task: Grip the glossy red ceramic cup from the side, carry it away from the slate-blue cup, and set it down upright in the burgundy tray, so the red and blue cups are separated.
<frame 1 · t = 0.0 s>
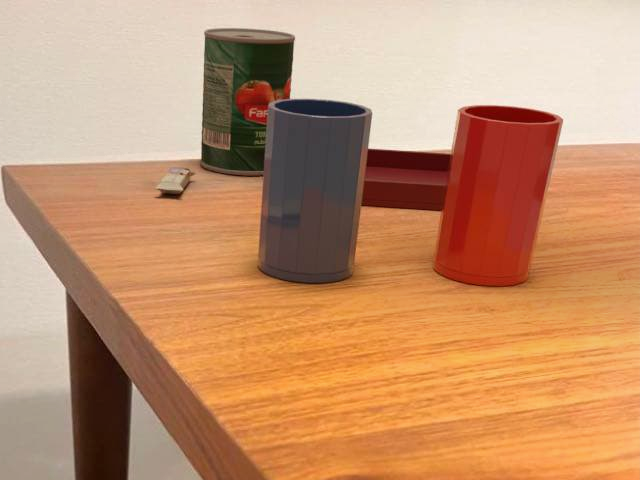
blue cup: (305, 267, 65), on the table
canned tomato: (242, 168, 90), on the table
red tray: (420, 190, 85), on the table
granola bar: (176, 189, 82), on the table
red cup: (479, 270, 66), on the table
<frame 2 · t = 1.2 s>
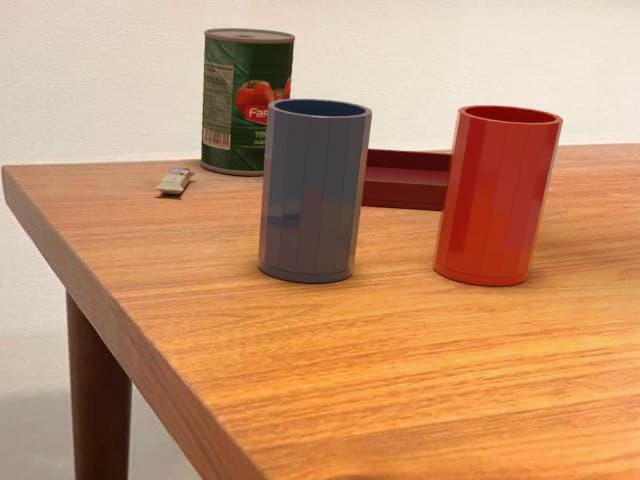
nothing on the table moved.
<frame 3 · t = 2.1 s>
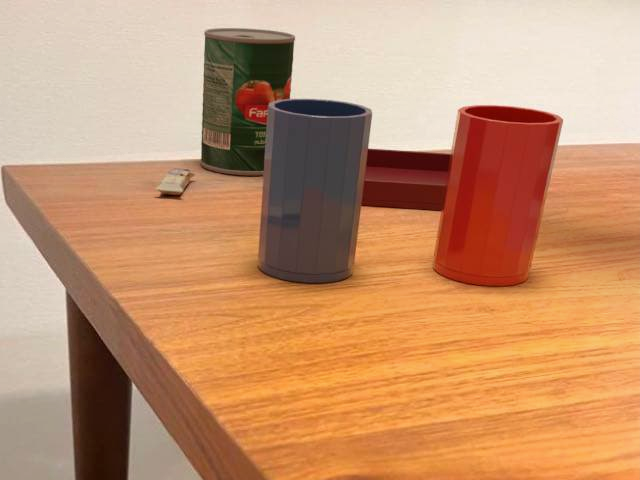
nothing on the table moved.
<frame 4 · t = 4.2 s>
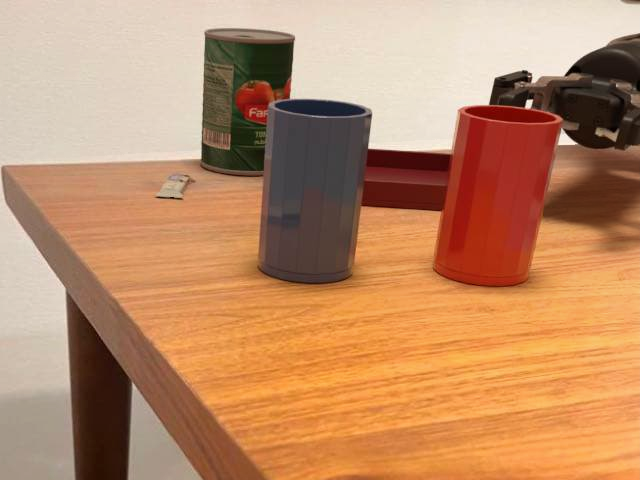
hand: (563, 122, 69), 8 cm above the table, tool horizontal, fingers open, 8 cm apart
nothing on the table moved.
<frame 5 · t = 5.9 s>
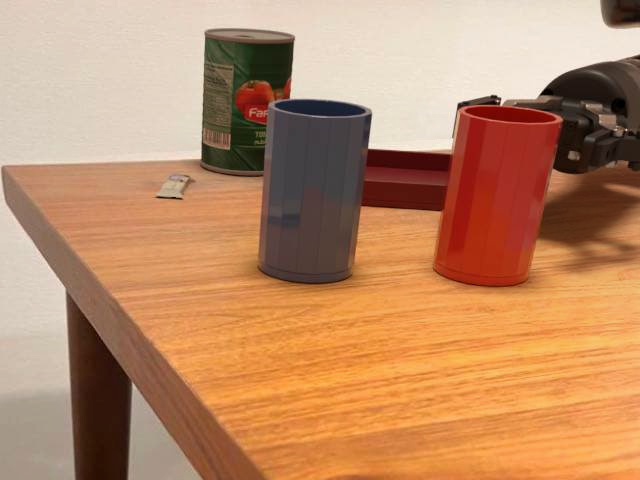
hand: (523, 145, 65), 8 cm above the table, tool horizontal, fingers open, 8 cm apart
nothing on the table moved.
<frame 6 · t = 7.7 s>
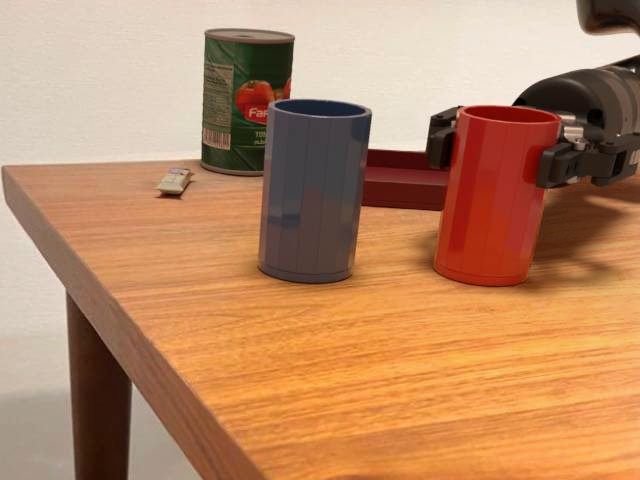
hand: (489, 161, 61), 8 cm above the table, tool horizontal, fingers closed on red cup, 6 cm apart
red cup: (480, 270, 66), on the table, touching gripper
everything else where it was.
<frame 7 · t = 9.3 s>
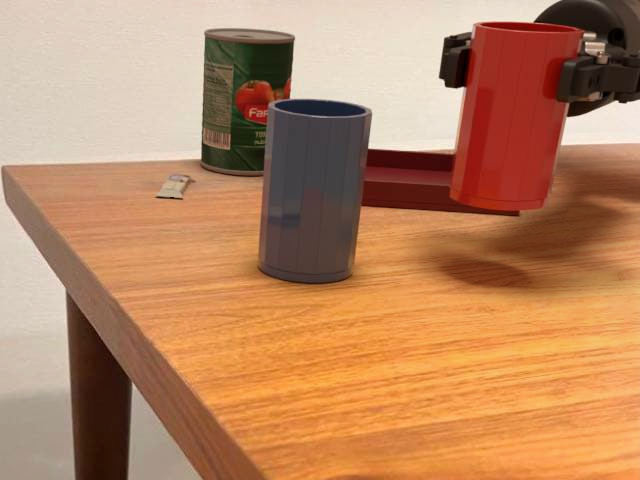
hand: (507, 75, 58), 12 cm above the table, tool horizontal, fingers closed on red cup, 6 cm apart
red cup: (497, 198, 64), point 5 cm above the table, touching gripper
everything else where it was.
when the fingers open (8 cm above the table, at t = 17.1 s): red cup stays where it is, resting on red tray.
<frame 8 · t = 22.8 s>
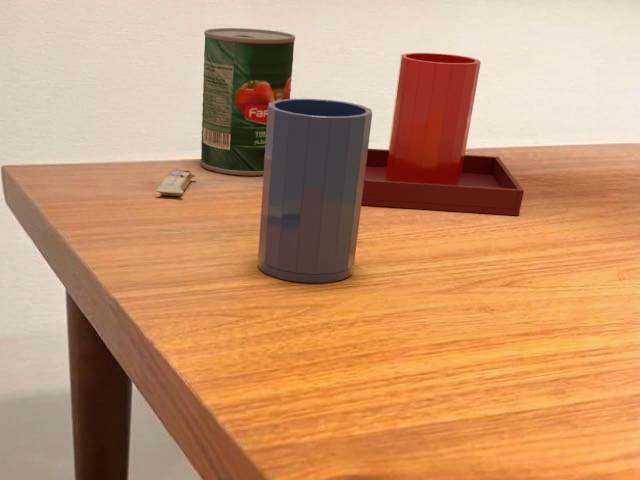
red cup: (421, 184, 85), resting on red tray
everything else where it was.
at the end: red cup inside the target area in the red tray (0.1 cm from its centre), point 0.5 cm above the red tray's base; red cup tilted 0°; blue cup moved 0.0 cm from its start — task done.
